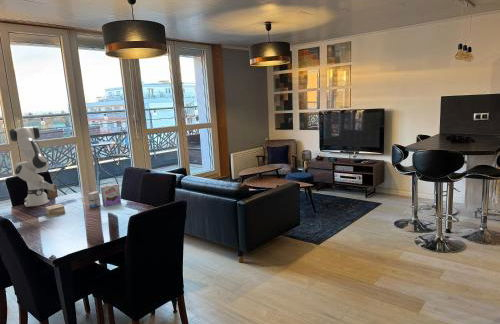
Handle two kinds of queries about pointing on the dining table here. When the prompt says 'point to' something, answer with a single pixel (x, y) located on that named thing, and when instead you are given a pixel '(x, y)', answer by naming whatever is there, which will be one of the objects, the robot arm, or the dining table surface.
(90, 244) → the dining table surface
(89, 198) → the ink box
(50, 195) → the walnut pillar
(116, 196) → the candy box
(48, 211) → the beech block
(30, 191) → the robot arm
